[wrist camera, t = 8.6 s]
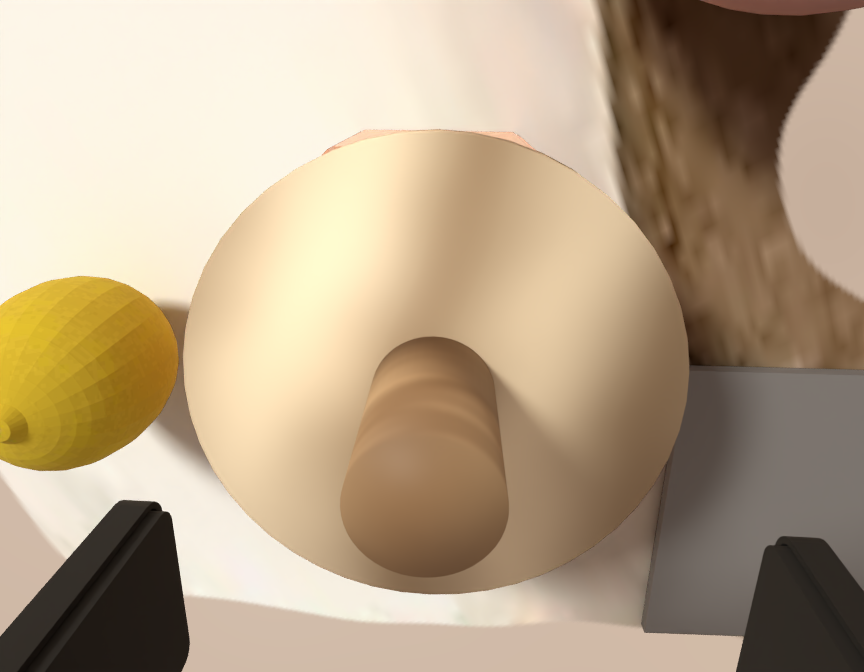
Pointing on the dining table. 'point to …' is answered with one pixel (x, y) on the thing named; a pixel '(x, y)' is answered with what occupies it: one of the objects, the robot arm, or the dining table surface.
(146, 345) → the lemon
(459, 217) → the lid
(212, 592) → the dining table surface
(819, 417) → the mat
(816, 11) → the mortar and pestle
